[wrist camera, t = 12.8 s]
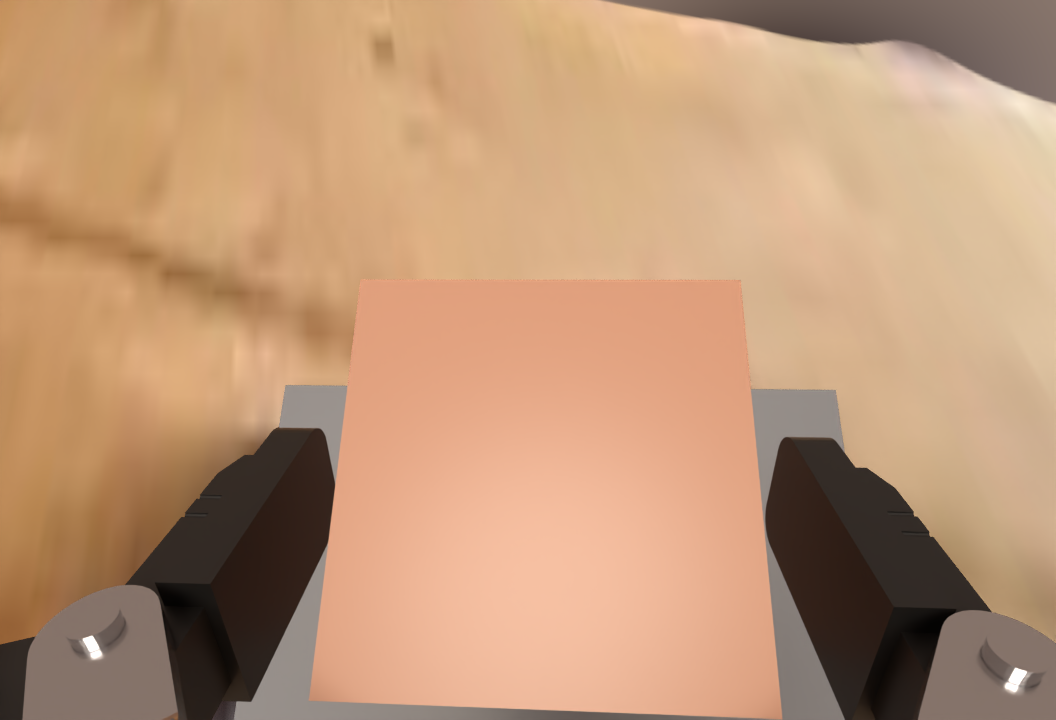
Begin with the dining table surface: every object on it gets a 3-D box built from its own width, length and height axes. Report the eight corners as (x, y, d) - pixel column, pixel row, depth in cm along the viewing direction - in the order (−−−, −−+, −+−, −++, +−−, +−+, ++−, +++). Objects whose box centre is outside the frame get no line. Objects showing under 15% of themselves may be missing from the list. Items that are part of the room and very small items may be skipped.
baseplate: (827, 394, 26) (835, 390, 25) (919, 1051, 19) (934, 1072, 19) (293, 389, 27) (285, 385, 27) (200, 1006, 21) (186, 1023, 20)
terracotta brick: (639, 432, 17) (741, 280, 8) (646, 620, 16) (782, 718, 6) (467, 429, 17) (360, 279, 8) (457, 614, 16) (308, 700, 6)
